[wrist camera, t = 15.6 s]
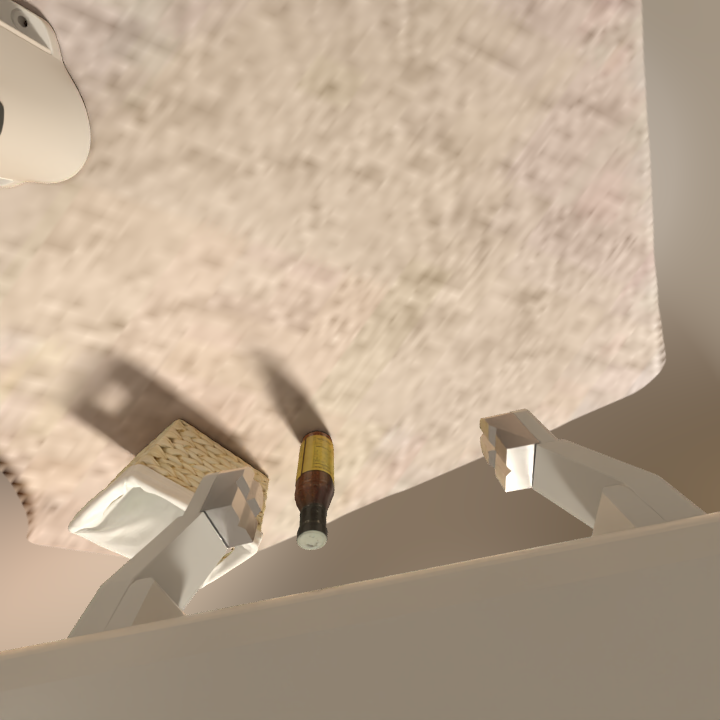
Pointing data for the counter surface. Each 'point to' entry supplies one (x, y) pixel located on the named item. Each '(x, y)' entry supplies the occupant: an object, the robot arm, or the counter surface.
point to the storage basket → (161, 495)
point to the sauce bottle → (314, 489)
